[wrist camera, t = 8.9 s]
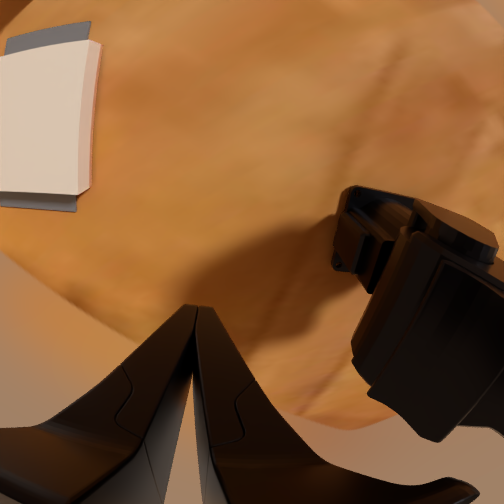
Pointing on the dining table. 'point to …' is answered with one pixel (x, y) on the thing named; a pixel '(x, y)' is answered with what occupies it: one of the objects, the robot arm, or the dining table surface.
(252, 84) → the dining table surface
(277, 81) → the dining table surface
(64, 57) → the tile
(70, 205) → the grey mat
